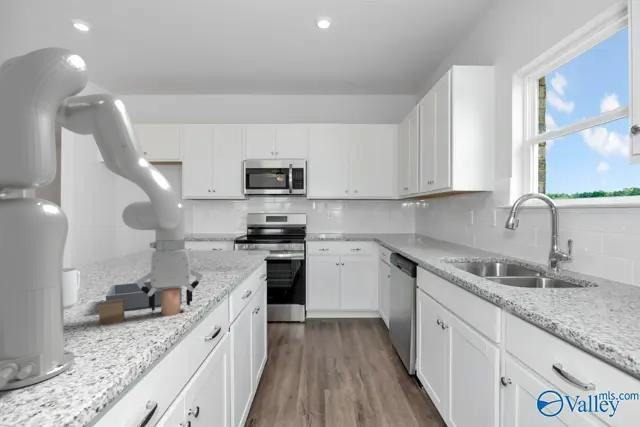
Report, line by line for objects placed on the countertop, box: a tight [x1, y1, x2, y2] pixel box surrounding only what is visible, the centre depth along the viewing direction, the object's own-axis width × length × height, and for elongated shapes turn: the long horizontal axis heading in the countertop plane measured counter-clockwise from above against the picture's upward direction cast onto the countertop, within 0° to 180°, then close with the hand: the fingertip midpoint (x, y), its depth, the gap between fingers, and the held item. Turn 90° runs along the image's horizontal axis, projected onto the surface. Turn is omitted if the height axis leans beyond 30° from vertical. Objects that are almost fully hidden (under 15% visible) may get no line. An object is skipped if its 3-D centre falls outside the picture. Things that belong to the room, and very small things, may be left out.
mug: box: [63, 267, 81, 310], centre depth 96 cm, size 12×9×11 cm
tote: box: [105, 281, 183, 312], centre depth 100 cm, size 20×15×5 cm
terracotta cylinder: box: [160, 286, 182, 317], centre depth 89 cm, size 5×5×7 cm
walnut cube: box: [98, 299, 125, 327], centre depth 83 cm, size 5×5×5 cm
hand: (171, 306), depth 89 cm, fingers open, 8 cm apart
